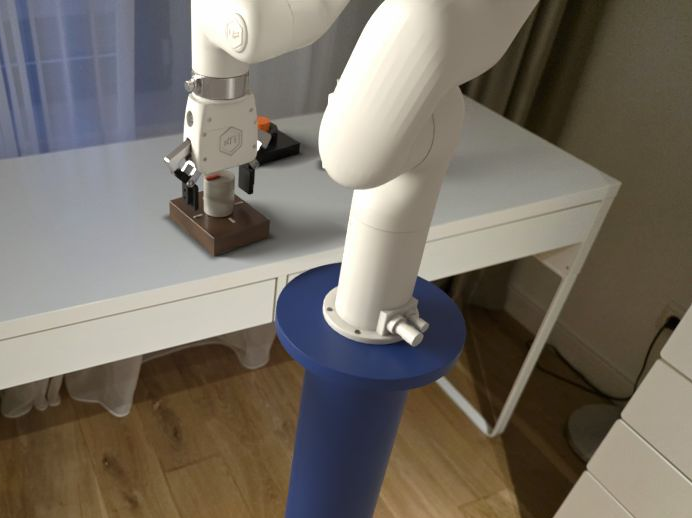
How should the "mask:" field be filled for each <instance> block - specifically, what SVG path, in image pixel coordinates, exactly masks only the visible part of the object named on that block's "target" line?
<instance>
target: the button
mask: <svg viewBox="0 0 692 518" xmlns="http://www.w3.org/2000/svg"><path fill="white" fill-rule="evenodd" d="M270 122H271V120H270V118H268V117H266V116H265V117H264V116H257V128H258V129H260V130H263V131H266V132H267V131H269V130H270Z"/></svg>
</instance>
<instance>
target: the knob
mask: <svg viewBox="0 0 692 518" xmlns="http://www.w3.org/2000/svg"><path fill="white" fill-rule="evenodd" d="M235 184H236V177H235V174H234V173H233V172H231V171H229V170H227V169H225V170H221V171H218V172H214V173H210V174H203V191H204V212H205V213H206V214H207V215H210V216H213V217H226V216H229V215H231V214H232V213H233V211H234V194H235V188H236V187H235Z"/></svg>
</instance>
